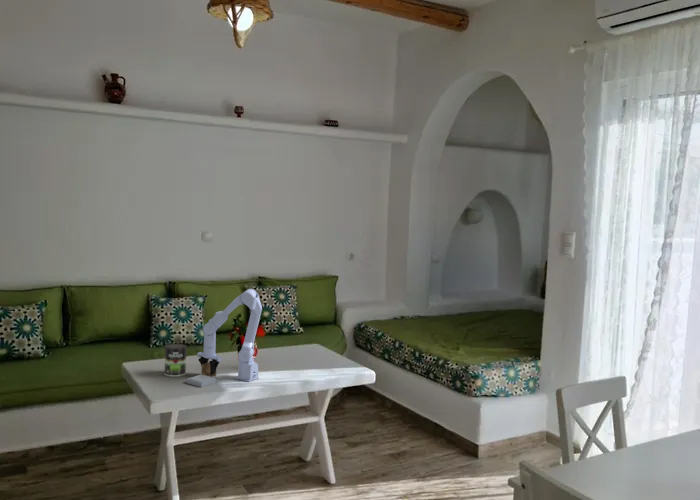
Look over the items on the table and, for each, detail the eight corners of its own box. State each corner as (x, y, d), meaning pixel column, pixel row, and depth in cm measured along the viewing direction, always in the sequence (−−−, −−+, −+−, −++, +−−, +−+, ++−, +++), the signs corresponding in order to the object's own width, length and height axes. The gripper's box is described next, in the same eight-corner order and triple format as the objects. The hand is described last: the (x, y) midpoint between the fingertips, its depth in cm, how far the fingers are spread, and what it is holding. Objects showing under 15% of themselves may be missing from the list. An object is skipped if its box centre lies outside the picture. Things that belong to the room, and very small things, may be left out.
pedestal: (216, 382, 293) (216, 377, 293) (201, 387, 284) (201, 382, 284) (201, 378, 298) (201, 373, 298) (186, 383, 289) (186, 378, 289)
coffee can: (185, 376, 300) (186, 348, 298) (164, 377, 297) (164, 348, 296) (185, 370, 309) (186, 343, 308) (164, 371, 307) (165, 343, 305)
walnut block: (216, 375, 303) (216, 364, 303) (208, 378, 299) (209, 366, 298) (208, 373, 306) (209, 362, 305) (201, 376, 301) (201, 364, 301)
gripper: (226, 347, 301) (225, 374, 302) (204, 342, 308) (204, 368, 309) (216, 349, 295) (215, 377, 296) (194, 344, 302) (193, 371, 303)
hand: (208, 373), depth 302 cm, fingers closed on walnut block, 5 cm apart
